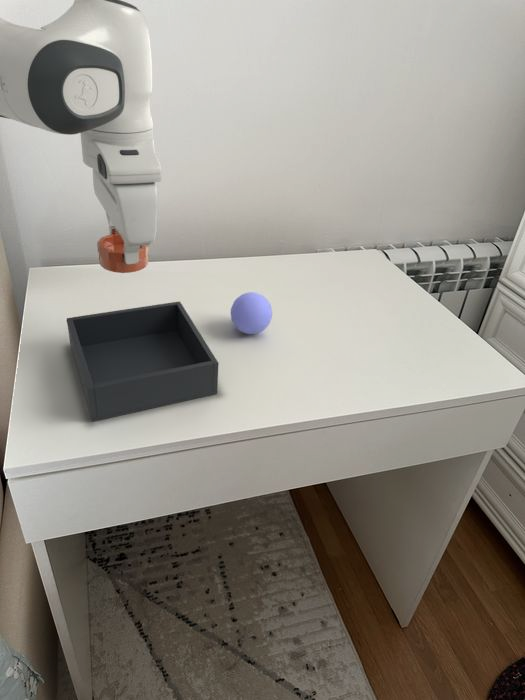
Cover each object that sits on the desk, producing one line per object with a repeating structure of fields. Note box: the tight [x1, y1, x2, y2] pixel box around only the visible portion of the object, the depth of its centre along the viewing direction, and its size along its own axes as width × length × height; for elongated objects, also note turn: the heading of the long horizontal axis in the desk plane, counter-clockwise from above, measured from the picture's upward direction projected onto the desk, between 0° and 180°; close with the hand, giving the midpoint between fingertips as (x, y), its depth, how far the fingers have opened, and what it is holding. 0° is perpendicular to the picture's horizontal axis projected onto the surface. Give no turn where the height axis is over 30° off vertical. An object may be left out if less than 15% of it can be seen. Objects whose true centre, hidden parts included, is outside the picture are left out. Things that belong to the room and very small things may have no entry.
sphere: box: [230, 291, 273, 335], centre depth 89 cm, size 7×7×7 cm
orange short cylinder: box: [96, 233, 150, 274], centre depth 76 cm, size 7×7×3 cm
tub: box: [66, 301, 219, 423], centre depth 78 cm, size 18×18×6 cm
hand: (123, 249), depth 75 cm, fingers closed on orange short cylinder, 7 cm apart
